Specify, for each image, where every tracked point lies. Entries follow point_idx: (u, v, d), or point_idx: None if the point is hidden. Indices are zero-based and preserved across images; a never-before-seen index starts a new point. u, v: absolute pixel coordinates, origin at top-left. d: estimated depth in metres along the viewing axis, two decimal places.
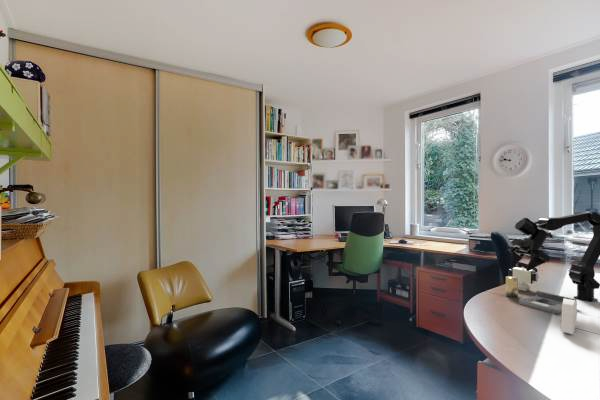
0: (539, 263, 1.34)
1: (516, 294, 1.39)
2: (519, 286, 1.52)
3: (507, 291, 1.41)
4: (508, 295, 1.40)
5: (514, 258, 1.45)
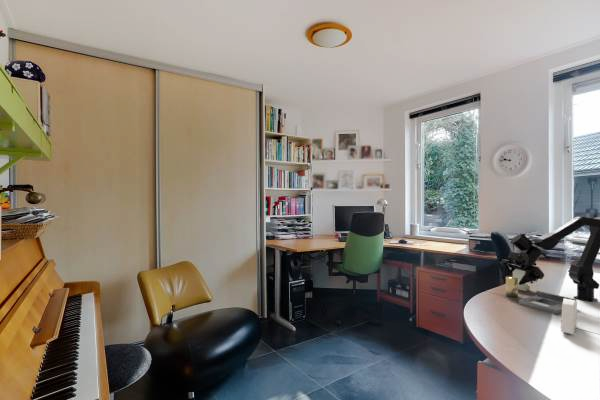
0: (532, 279, 1.36)
1: (516, 294, 1.39)
2: (519, 286, 1.52)
3: (507, 291, 1.41)
4: (508, 295, 1.40)
5: (506, 271, 1.46)
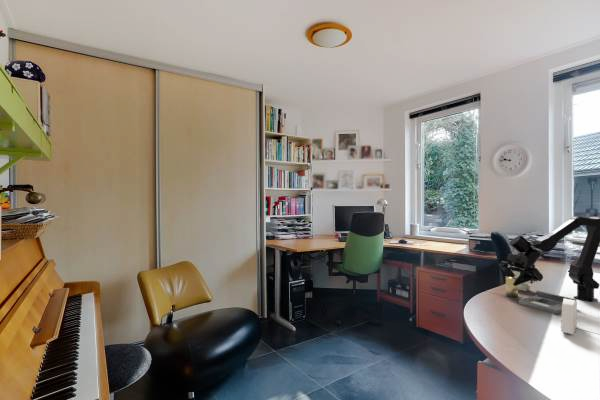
0: (527, 280, 1.38)
1: (516, 294, 1.39)
2: (519, 286, 1.52)
3: (507, 291, 1.41)
4: (508, 295, 1.40)
5: (508, 274, 1.44)
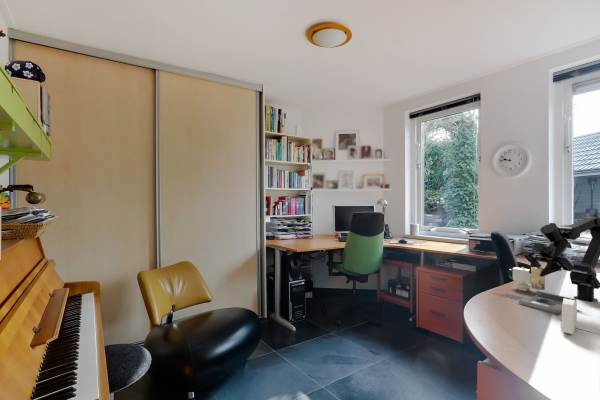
0: (554, 270, 1.28)
1: (543, 285, 1.30)
2: (519, 286, 1.52)
3: (533, 282, 1.32)
4: (534, 287, 1.31)
5: (534, 265, 1.35)
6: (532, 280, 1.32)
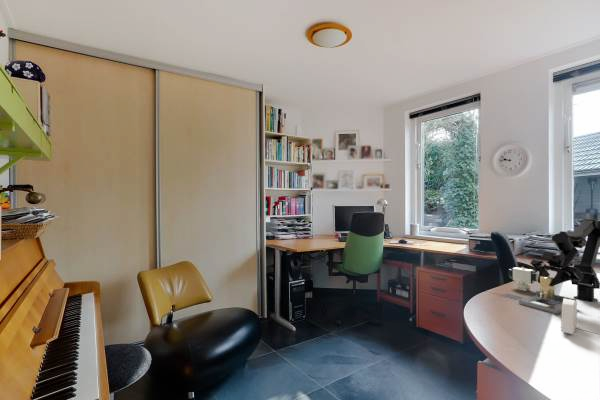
0: (564, 280, 1.25)
1: (552, 295, 1.26)
2: (519, 286, 1.52)
3: (542, 292, 1.28)
4: (543, 297, 1.28)
5: (542, 274, 1.32)
6: (541, 290, 1.29)
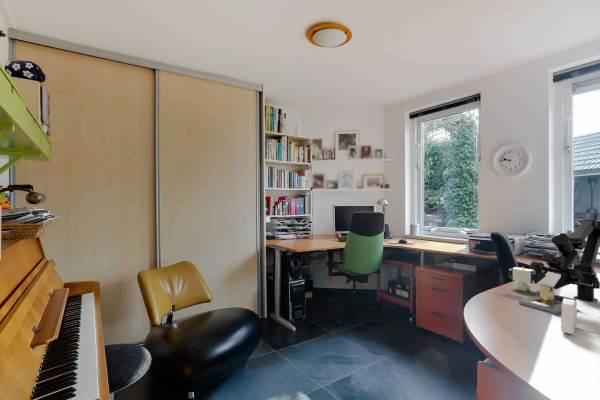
0: (568, 282, 1.24)
1: (552, 304, 1.26)
2: (519, 286, 1.52)
3: (542, 301, 1.28)
4: None
5: (538, 274, 1.33)
6: (541, 298, 1.29)
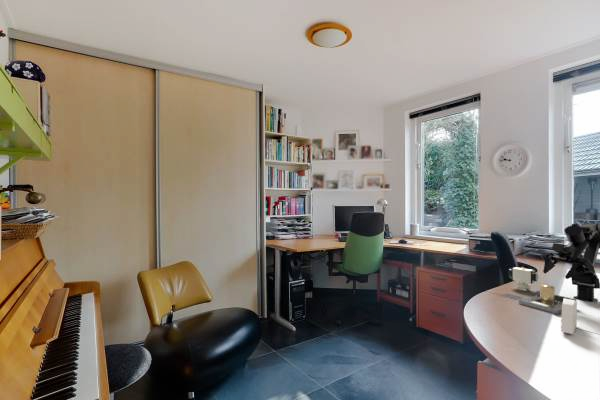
0: (580, 272, 1.25)
1: (552, 304, 1.26)
2: (519, 286, 1.52)
3: (542, 301, 1.28)
4: None
5: (548, 264, 1.35)
6: (541, 298, 1.29)
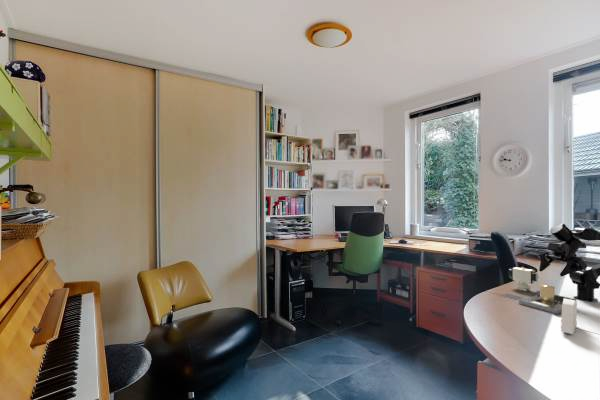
0: (574, 270, 1.31)
1: (552, 304, 1.26)
2: (519, 286, 1.52)
3: (542, 301, 1.28)
4: None
5: (543, 263, 1.42)
6: (541, 298, 1.29)
